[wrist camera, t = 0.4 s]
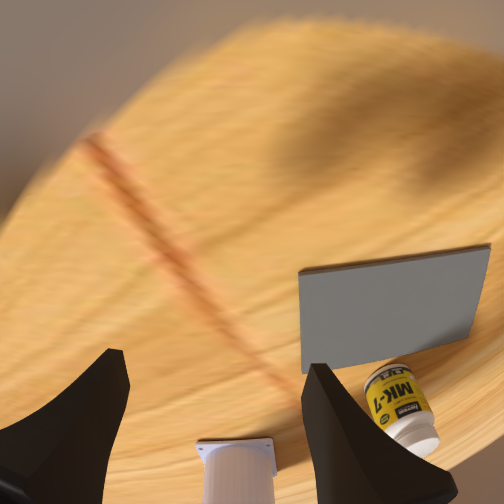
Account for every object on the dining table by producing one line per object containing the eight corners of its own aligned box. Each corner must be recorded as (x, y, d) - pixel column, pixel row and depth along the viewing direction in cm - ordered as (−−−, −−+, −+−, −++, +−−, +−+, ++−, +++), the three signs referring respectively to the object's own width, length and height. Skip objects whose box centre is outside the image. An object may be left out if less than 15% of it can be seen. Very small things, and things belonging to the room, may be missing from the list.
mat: (465, 334, 24) (467, 337, 24) (301, 369, 25) (302, 374, 24) (487, 246, 21) (490, 248, 20) (298, 272, 21) (299, 276, 20)
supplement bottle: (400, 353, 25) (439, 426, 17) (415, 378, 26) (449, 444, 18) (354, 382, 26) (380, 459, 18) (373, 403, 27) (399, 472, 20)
